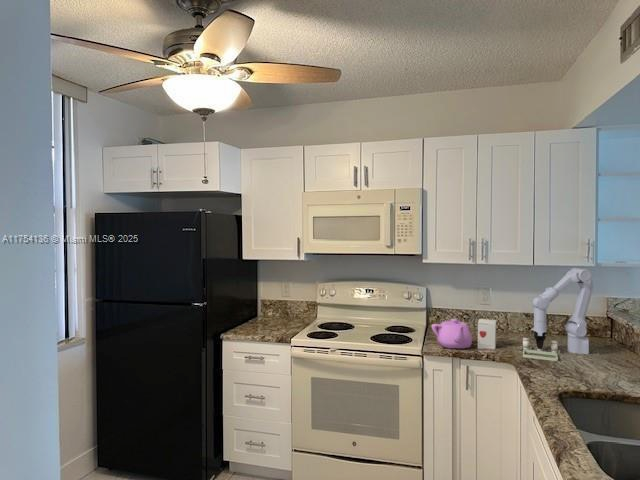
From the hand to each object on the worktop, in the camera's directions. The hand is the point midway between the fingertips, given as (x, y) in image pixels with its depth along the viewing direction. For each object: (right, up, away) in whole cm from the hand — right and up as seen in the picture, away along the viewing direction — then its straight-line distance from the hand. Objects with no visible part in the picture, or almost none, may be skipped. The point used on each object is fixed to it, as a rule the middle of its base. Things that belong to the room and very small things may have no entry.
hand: (539, 347), depth 223 cm
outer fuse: (-6, -2, +3) cm, 7 cm away
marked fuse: (0, -2, 0) cm, 2 cm away
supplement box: (-24, -3, +10) cm, 26 cm away
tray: (-4, -3, -9) cm, 10 cm away
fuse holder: (0, -3, 0) cm, 3 cm away
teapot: (-40, -3, +12) cm, 42 cm away
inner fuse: (+6, -2, -3) cm, 7 cm away
